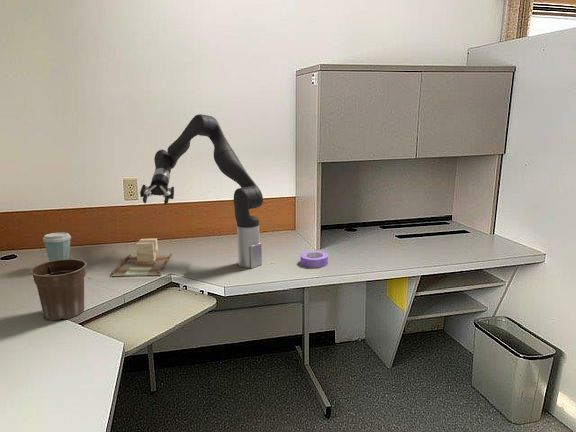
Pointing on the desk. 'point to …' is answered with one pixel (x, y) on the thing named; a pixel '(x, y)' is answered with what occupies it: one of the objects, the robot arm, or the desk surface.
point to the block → (147, 250)
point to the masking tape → (314, 259)
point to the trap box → (140, 267)
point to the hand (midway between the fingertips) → (155, 202)
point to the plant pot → (60, 287)
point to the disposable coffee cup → (57, 245)
